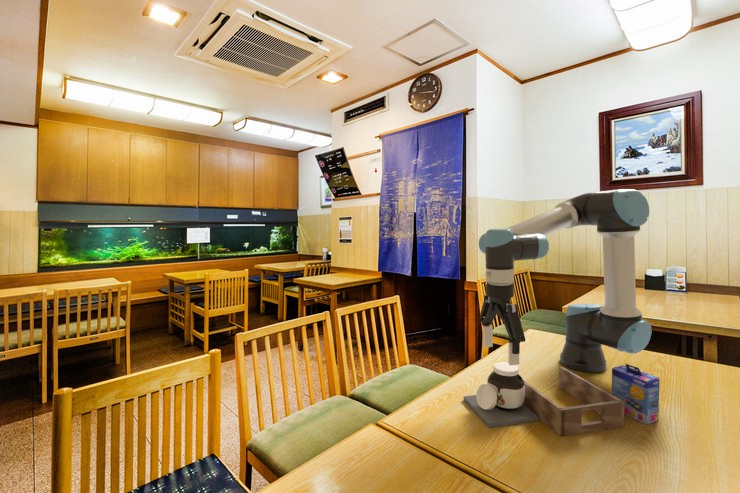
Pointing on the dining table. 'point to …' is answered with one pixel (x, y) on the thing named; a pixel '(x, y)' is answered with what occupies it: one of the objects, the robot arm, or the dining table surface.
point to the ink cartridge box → (637, 393)
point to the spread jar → (502, 389)
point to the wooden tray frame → (571, 417)
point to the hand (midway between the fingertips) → (500, 355)
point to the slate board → (500, 414)
